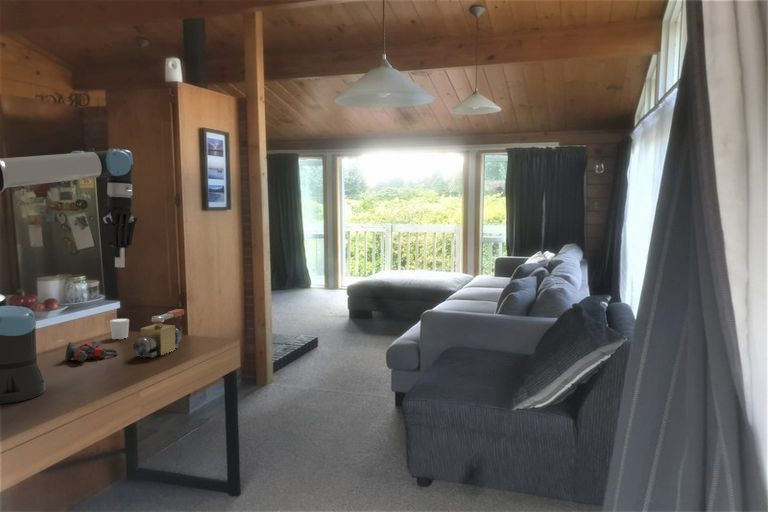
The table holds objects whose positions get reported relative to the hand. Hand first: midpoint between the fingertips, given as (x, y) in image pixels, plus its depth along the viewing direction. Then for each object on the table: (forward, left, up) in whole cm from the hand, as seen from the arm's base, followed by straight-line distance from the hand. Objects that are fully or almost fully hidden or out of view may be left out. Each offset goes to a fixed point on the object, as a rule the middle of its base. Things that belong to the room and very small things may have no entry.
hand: (119, 266), depth 186 cm
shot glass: (+21, +19, -31) cm, 42 cm away
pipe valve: (+8, -8, -31) cm, 33 cm away
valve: (-1, +10, -31) cm, 33 cm away
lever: (+14, -8, -20) cm, 26 cm away
